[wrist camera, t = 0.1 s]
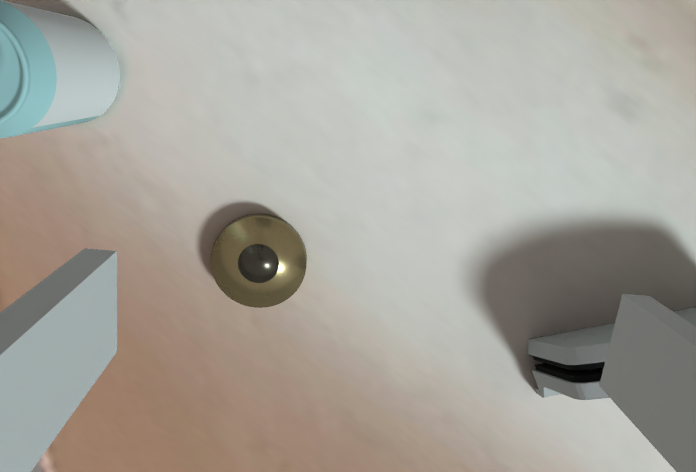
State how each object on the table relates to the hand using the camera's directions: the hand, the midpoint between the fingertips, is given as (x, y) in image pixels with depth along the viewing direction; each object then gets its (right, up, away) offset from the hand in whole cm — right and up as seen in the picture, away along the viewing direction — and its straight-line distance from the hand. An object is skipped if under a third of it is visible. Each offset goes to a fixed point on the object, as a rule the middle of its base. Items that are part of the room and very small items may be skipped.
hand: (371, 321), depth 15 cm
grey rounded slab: (+22, -6, +32) cm, 39 cm away
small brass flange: (-7, 0, +29) cm, 29 cm away
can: (-20, +14, +25) cm, 34 cm away
